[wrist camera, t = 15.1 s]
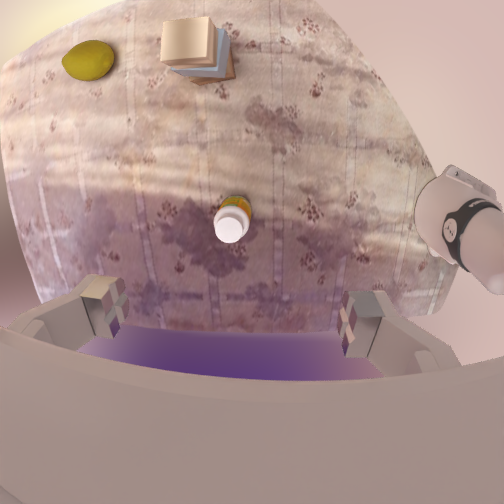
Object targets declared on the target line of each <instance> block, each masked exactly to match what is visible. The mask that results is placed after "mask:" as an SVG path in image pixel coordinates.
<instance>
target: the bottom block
mask: <svg viewBox="0 0 504 504" xmlns="http://www.w3.org/2000/svg"><path fill="white" fill-rule="evenodd" d="M235 78H236V77H235V71H234V65H233V59H232V53H231V47H230V49H229V55H228V61H227V68H226V74H225V78H216V77H192V76H189V79H190V81H191V82H193V83H195V84H197V85H204V84H209V83H213V82H219V81H224V80H229V79H235Z"/></svg>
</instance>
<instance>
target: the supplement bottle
mask: <svg viewBox="0 0 504 504" xmlns="http://www.w3.org/2000/svg"><path fill="white" fill-rule="evenodd" d="M251 213H252V209H251V205H250V203H249V202H248V201H247V200H246V199H245V198H244V197H241V196H230V197H228V198H226V199H225V200H224V201H223V203H222V204H221V206H220V208H219V210H218V211H217V213H216V215H215V218H214V227H215V232H216V235H217V237H218V238H219V239H220V240H221V241H223V242H226V243H233V242H236V241H238V240H239V239H240V238H241V237H242V236H244V235H245V234H246V232H247V230H248V228H249V223H250V218H251Z"/></svg>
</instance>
